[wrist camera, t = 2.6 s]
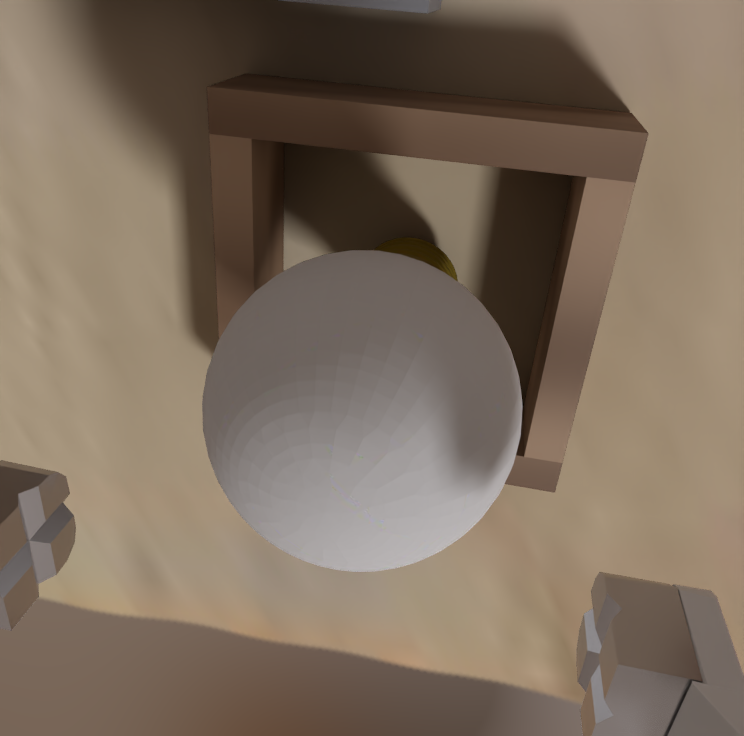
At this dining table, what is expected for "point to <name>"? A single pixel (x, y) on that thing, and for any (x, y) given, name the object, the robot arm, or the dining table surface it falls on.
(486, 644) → the dining table surface
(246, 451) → the light bulb
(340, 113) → the frame
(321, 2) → the tray
